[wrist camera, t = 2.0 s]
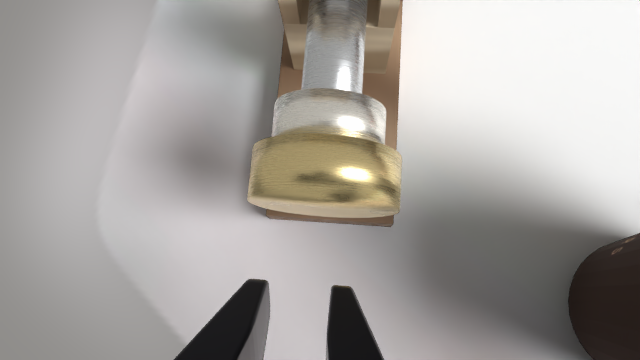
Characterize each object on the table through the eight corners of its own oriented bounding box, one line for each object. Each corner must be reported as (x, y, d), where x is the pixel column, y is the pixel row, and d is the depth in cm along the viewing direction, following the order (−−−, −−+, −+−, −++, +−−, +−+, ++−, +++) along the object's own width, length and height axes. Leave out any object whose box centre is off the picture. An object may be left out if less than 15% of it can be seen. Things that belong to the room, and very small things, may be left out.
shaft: (391, 221, 18) (410, 199, 13) (261, 212, 19) (230, 187, 14) (400, 19, 20) (419, -69, 15) (281, 14, 20) (260, -73, 15)
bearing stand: (390, 226, 23) (429, 184, 12) (269, 218, 23) (210, 170, 13) (400, -10, 25) (439, -205, 15) (292, -14, 26) (258, -207, 15)
